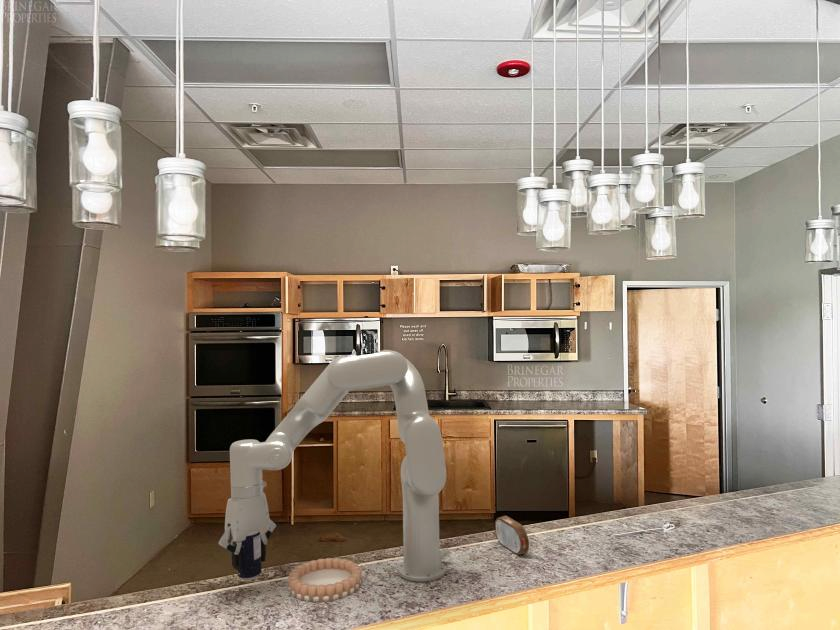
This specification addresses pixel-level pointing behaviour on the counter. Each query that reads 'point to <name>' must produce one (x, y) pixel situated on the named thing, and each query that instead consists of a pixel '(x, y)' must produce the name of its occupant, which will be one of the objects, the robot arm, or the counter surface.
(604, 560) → the counter surface
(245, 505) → the robot arm
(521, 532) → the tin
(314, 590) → the round dish
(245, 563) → the beverage can
